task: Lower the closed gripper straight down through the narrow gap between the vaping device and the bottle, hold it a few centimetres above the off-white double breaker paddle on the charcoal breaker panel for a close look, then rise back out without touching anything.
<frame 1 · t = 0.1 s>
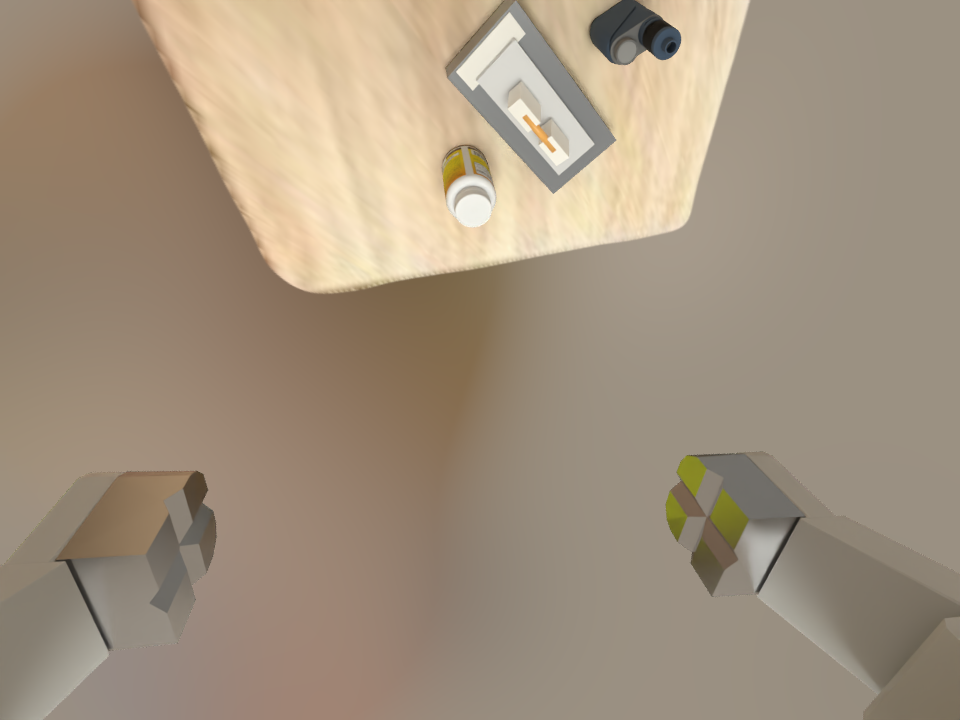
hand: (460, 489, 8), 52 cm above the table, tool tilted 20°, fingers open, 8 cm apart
supplement bottle: (464, 166, 58), on the table
vaping device: (612, 20, 48), on the table
double breaker paddle: (539, 125, 49), point 6 cm above the table, hinge at 15.0°
breaker panel: (532, 100, 53), on the table
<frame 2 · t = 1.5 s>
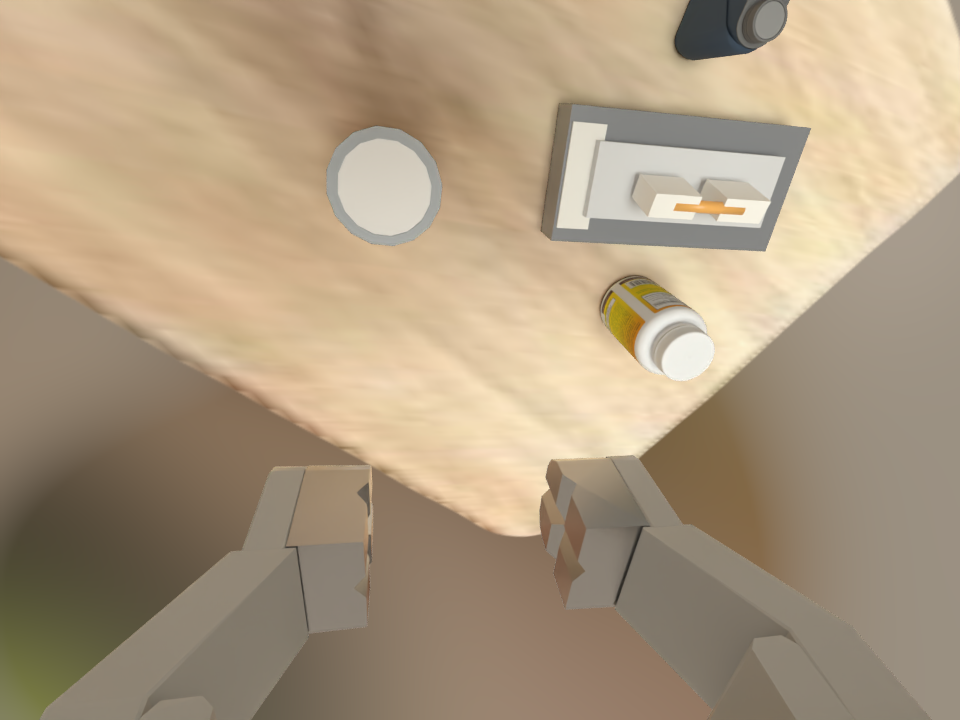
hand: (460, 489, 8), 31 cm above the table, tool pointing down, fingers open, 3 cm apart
supplement bottle: (627, 302, 43), on the table
vaping device: (698, 17, 33), on the table
white cylinder: (388, 173, 35), on the table
double breaker paddle: (699, 199, 32), point 6 cm above the table, hinge at 15.0°
breaker panel: (659, 179, 37), on the table
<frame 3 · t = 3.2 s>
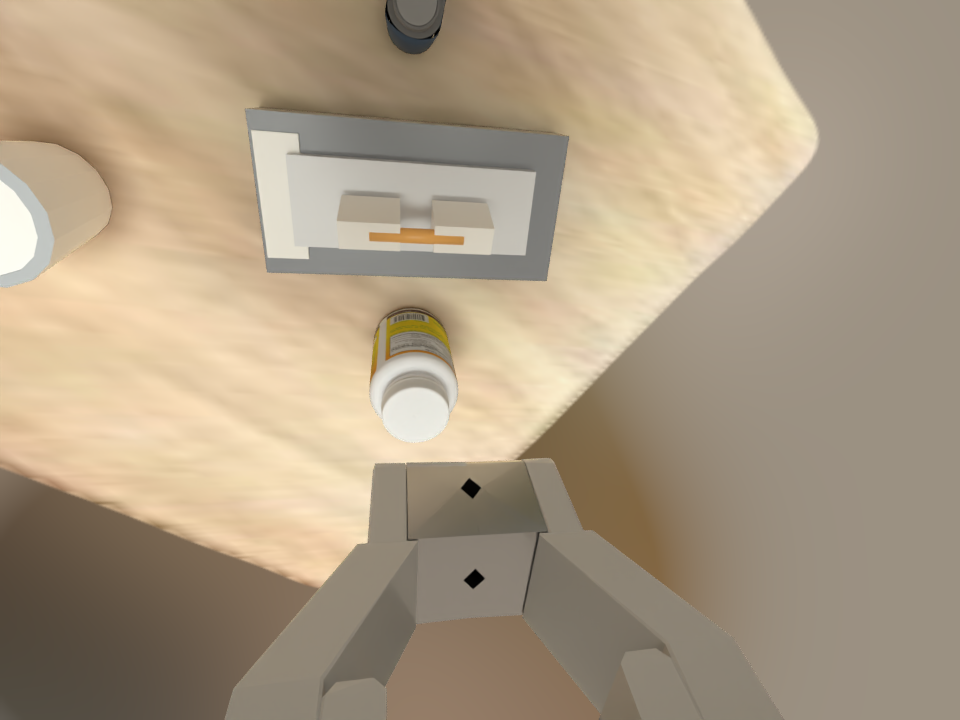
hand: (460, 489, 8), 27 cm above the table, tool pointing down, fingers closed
supplement bottle: (411, 337, 37), on the table
vaping device: (416, 1, 27), on the table
white cylinder: (60, 192, 29), on the table
double breaker paddle: (416, 225, 26), point 6 cm above the table, hinge at 15.0°
breaker panel: (413, 196, 31), on the table
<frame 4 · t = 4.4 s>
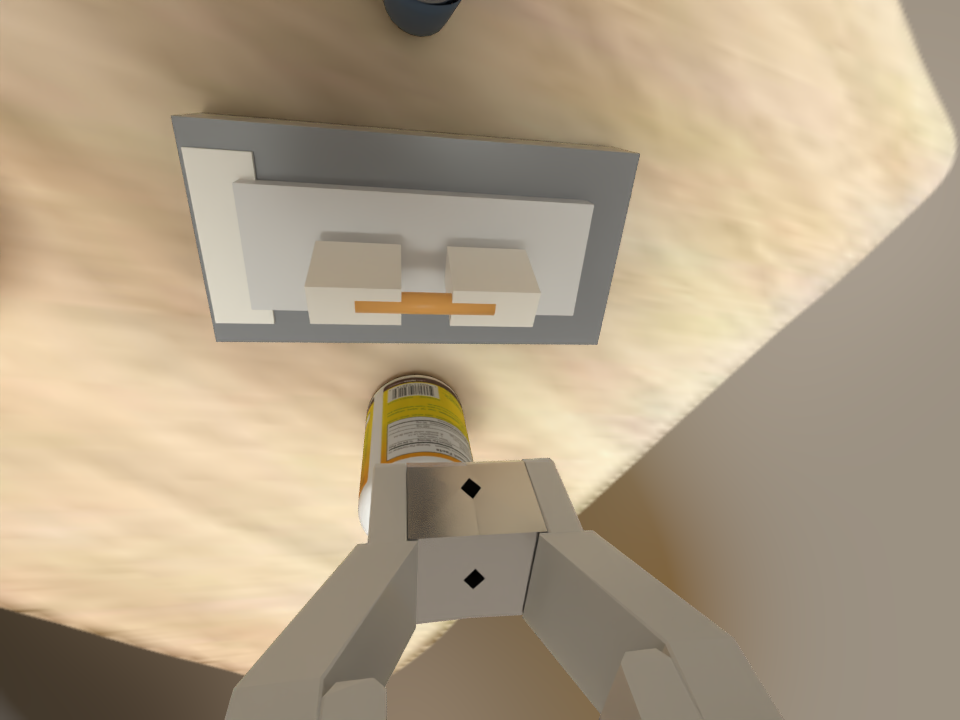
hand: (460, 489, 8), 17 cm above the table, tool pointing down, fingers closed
supplement bottle: (415, 408, 28), on the table
double breaker paddle: (425, 285, 18), point 6 cm above the table, hinge at 15.0°
breaker panel: (419, 233, 23), on the table
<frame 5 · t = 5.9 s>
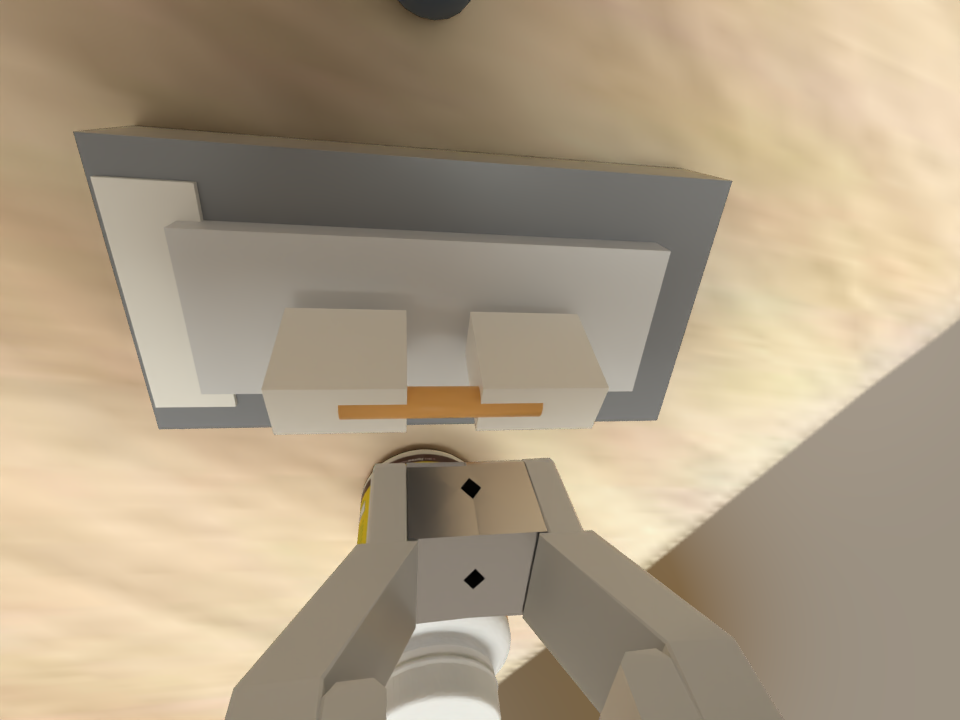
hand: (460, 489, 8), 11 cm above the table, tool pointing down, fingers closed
supplement bottle: (421, 485, 23), on the table
double breaker paddle: (440, 369, 13), point 6 cm above the table, hinge at 15.0°
breaker panel: (429, 279, 18), on the table
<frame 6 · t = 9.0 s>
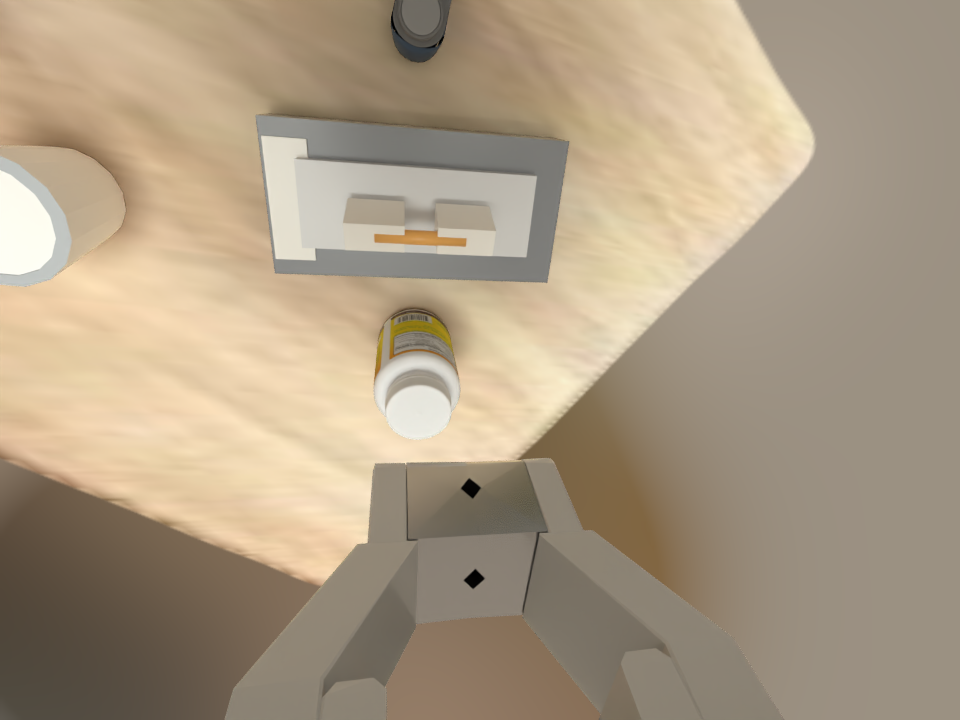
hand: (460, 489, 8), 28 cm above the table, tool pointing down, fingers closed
supplement bottle: (414, 338, 37), on the table
vaping device: (421, 11, 28), on the table
white cylinder: (76, 195, 30), on the table
double breaker paddle: (420, 227, 27), point 6 cm above the table, hinge at 15.0°
breaker panel: (417, 200, 32), on the table
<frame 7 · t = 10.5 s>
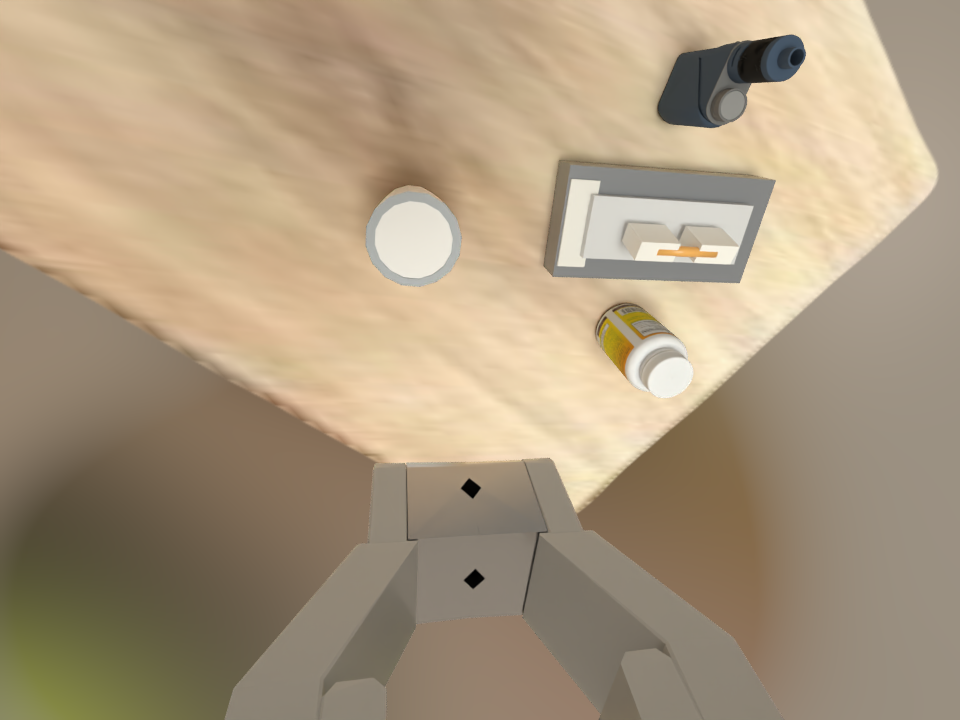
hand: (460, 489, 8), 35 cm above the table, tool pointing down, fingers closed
supplement bottle: (620, 326, 48), on the table
vaping device: (677, 88, 38), on the table
white cylinder: (412, 219, 40), on the table
double breaker paddle: (679, 244, 38), point 6 cm above the table, hinge at 15.0°
breaker panel: (646, 221, 43), on the table
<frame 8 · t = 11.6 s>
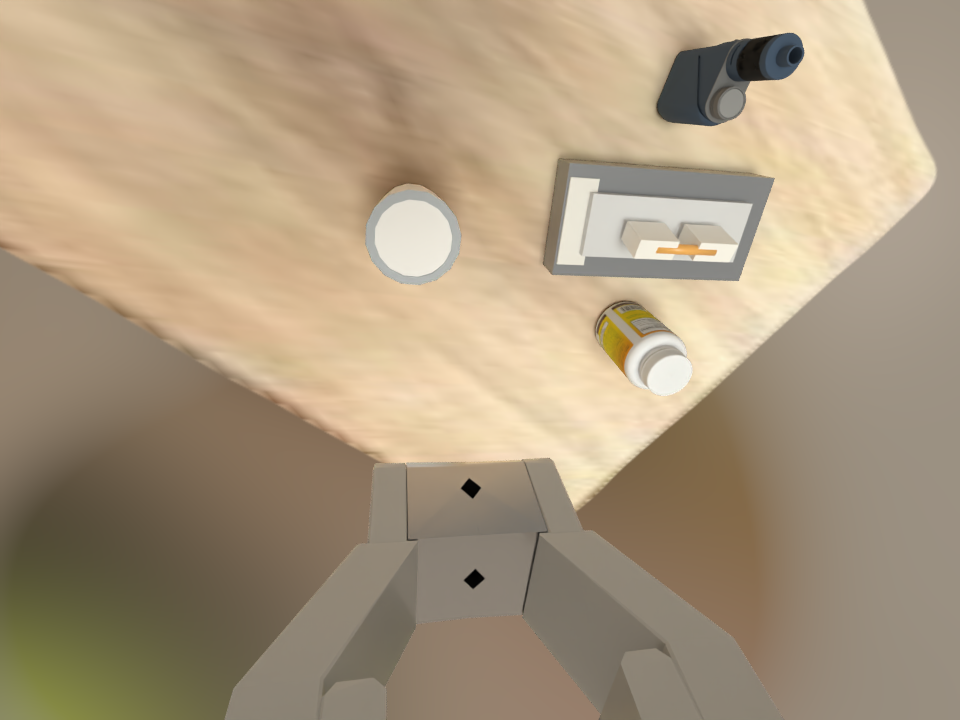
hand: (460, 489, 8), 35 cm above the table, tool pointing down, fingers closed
supplement bottle: (619, 324, 48), on the table
vaping device: (676, 86, 38), on the table
white cylinder: (411, 217, 40), on the table
double breaker paddle: (678, 242, 38), point 6 cm above the table, hinge at 15.0°
breaker panel: (645, 219, 43), on the table
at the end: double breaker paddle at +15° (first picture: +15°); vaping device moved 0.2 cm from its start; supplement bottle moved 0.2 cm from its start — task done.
